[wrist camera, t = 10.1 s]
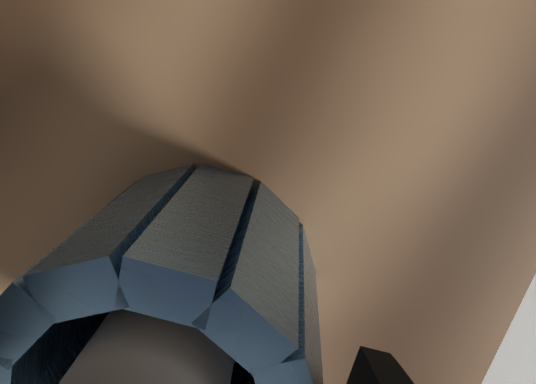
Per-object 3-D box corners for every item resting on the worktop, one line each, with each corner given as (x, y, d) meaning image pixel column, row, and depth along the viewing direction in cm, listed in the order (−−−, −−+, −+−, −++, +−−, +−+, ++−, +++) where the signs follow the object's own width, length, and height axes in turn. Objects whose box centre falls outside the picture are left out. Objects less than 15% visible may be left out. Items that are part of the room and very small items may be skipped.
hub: (340, 200, 11) (373, 321, 6) (280, 382, 12) (268, 588, 8) (113, 139, 11) (-36, 214, 6) (85, 331, 12) (-47, 508, 8)
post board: (623, 27, 10) (1043, 2, 4) (393, 517, 15) (450, 801, 9) (-71, -151, 10) (-573, -418, 4) (-69, 404, 15) (-295, 624, 9)
